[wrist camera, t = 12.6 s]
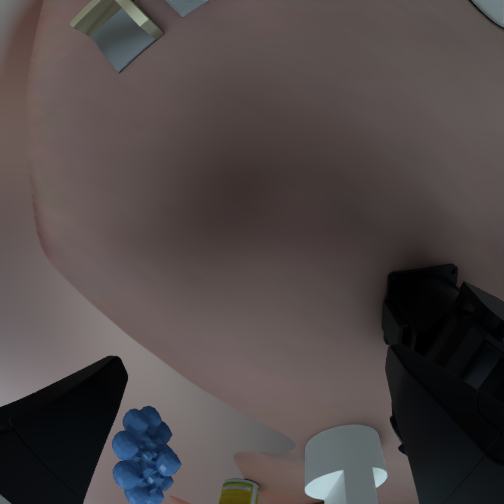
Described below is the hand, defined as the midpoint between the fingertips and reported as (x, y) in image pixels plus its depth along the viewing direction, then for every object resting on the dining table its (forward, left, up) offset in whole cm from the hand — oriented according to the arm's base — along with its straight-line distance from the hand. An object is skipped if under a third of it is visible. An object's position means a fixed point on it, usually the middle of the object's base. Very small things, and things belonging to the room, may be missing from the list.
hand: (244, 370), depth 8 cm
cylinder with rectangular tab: (-6, +25, -13) cm, 29 cm away
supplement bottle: (+8, +36, -13) cm, 39 cm away
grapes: (+14, +20, -13) cm, 28 cm away
